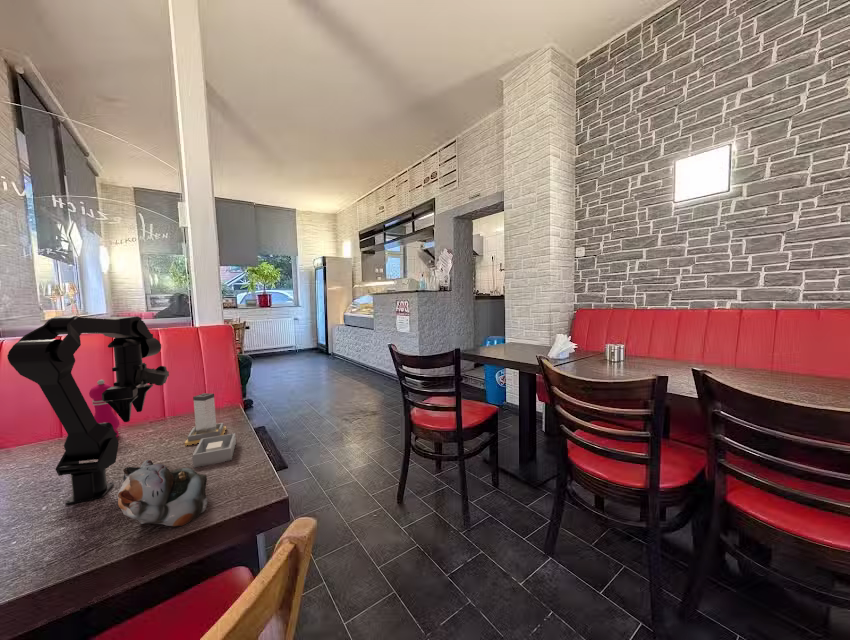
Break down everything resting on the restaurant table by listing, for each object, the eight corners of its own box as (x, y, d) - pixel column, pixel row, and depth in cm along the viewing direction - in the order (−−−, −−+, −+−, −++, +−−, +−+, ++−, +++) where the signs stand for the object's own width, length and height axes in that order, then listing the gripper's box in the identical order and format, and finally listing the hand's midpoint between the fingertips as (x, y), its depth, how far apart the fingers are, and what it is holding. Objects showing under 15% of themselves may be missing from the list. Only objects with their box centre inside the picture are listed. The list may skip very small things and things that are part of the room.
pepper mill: (117, 432, 117) (112, 376, 116) (123, 437, 113) (118, 378, 112) (88, 440, 112) (83, 380, 110) (93, 445, 107) (87, 383, 106)
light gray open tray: (231, 460, 94) (230, 447, 94) (193, 467, 91) (192, 454, 90) (236, 443, 105) (235, 432, 105) (202, 450, 101) (201, 438, 101)
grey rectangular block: (206, 436, 109) (203, 397, 108) (196, 436, 110) (193, 396, 109) (216, 431, 113) (214, 393, 112) (206, 431, 114) (203, 393, 113)
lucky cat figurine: (206, 522, 68) (161, 480, 61) (141, 559, 64) (87, 519, 58) (214, 469, 80) (177, 430, 74) (160, 498, 77) (117, 460, 70)
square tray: (222, 439, 109) (221, 431, 109) (185, 445, 105) (184, 437, 105) (226, 429, 118) (225, 421, 118) (192, 434, 114) (191, 426, 114)
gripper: (153, 364, 88) (158, 422, 89) (173, 354, 105) (177, 403, 106) (98, 369, 84) (103, 430, 85) (128, 357, 101) (132, 408, 102)
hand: (133, 416), depth 94 cm, fingers open, 9 cm apart
